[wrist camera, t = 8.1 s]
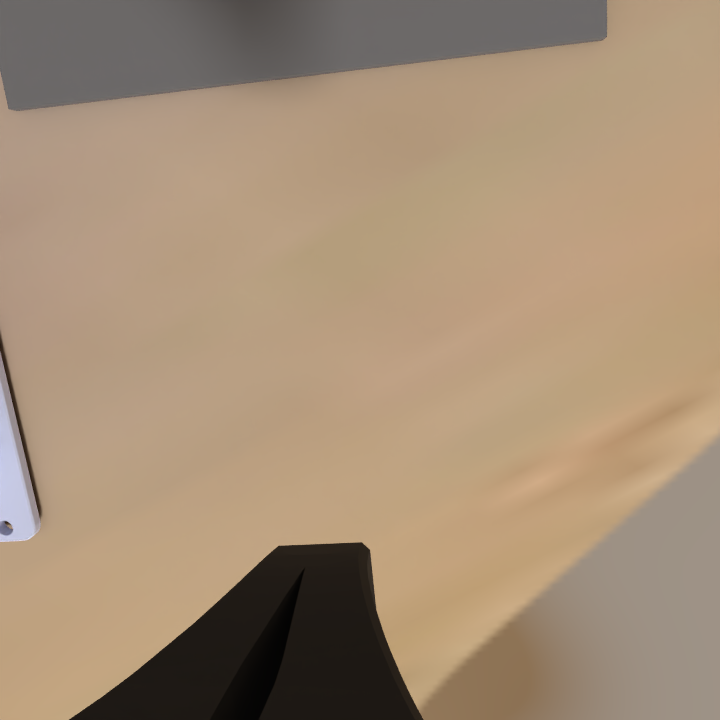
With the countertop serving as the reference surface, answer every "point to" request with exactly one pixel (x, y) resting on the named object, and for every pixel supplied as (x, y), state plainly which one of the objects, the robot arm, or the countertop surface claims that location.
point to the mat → (256, 40)
